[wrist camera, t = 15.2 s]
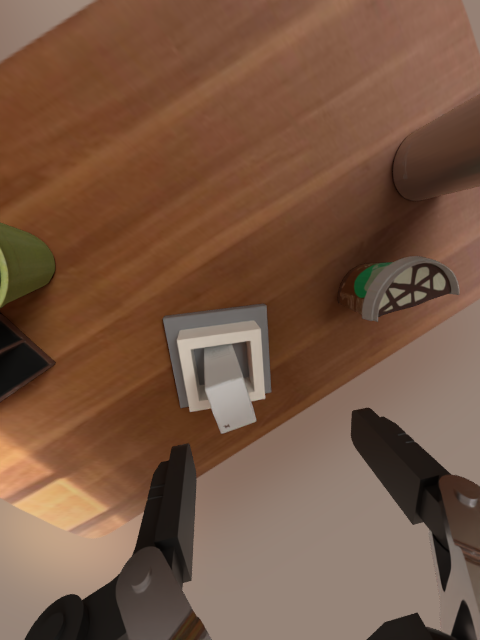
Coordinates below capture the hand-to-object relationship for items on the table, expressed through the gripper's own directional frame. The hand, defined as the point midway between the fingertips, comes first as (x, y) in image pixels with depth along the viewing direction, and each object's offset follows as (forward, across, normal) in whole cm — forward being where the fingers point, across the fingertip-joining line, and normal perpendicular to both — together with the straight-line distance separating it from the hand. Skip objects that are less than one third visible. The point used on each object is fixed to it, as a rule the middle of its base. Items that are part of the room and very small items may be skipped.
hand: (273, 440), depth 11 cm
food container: (+26, -22, -2) cm, 34 cm away
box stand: (+25, +2, +7) cm, 26 cm away
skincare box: (+24, +2, +7) cm, 25 cm away
